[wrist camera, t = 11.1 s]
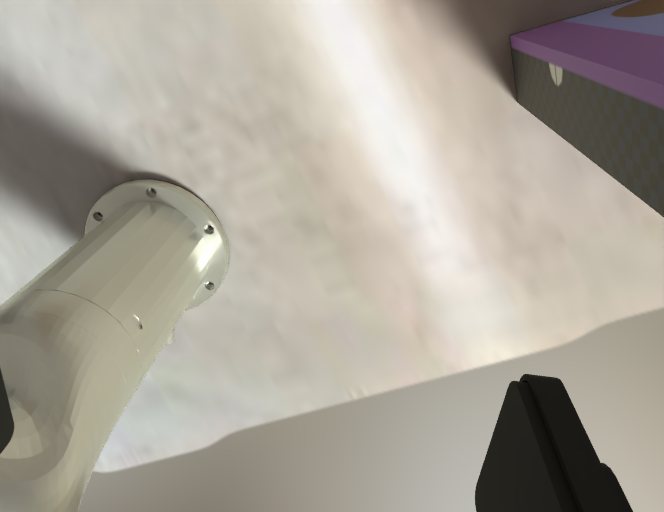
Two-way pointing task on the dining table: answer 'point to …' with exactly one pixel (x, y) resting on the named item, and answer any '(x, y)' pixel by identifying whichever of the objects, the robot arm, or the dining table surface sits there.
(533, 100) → the cereal box
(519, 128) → the dining table surface
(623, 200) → the dining table surface
